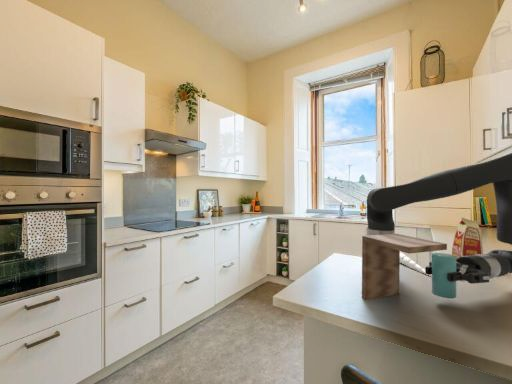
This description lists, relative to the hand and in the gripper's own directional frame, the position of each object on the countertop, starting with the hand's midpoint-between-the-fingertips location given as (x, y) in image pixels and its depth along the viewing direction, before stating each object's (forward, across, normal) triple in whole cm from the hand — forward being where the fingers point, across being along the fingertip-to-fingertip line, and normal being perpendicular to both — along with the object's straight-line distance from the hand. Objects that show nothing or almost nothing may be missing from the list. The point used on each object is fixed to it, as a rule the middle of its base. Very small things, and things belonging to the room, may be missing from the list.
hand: (437, 274), depth 70 cm
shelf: (+10, -3, +9) cm, 14 cm away
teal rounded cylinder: (-3, 0, +6) cm, 7 cm away
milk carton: (-56, -26, +10) cm, 62 cm away
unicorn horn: (-25, -29, +9) cm, 40 cm away
